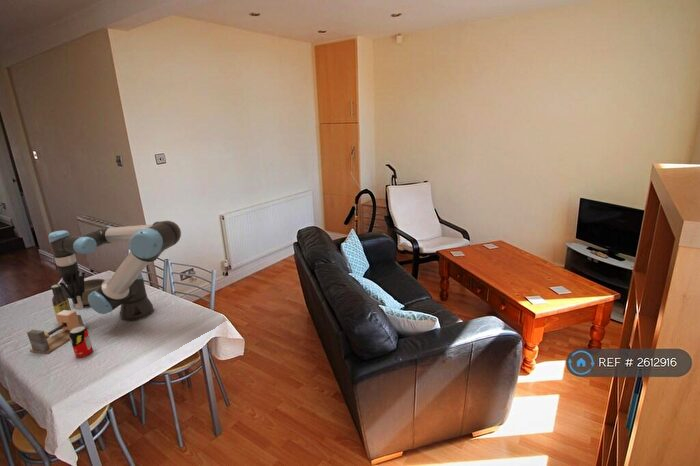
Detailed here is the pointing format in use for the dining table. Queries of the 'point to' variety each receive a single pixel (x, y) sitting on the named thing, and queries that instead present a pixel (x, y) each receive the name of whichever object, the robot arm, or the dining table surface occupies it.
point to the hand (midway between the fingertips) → (79, 308)
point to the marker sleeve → (68, 319)
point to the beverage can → (80, 341)
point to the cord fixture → (46, 345)
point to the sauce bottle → (59, 300)
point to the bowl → (90, 288)
